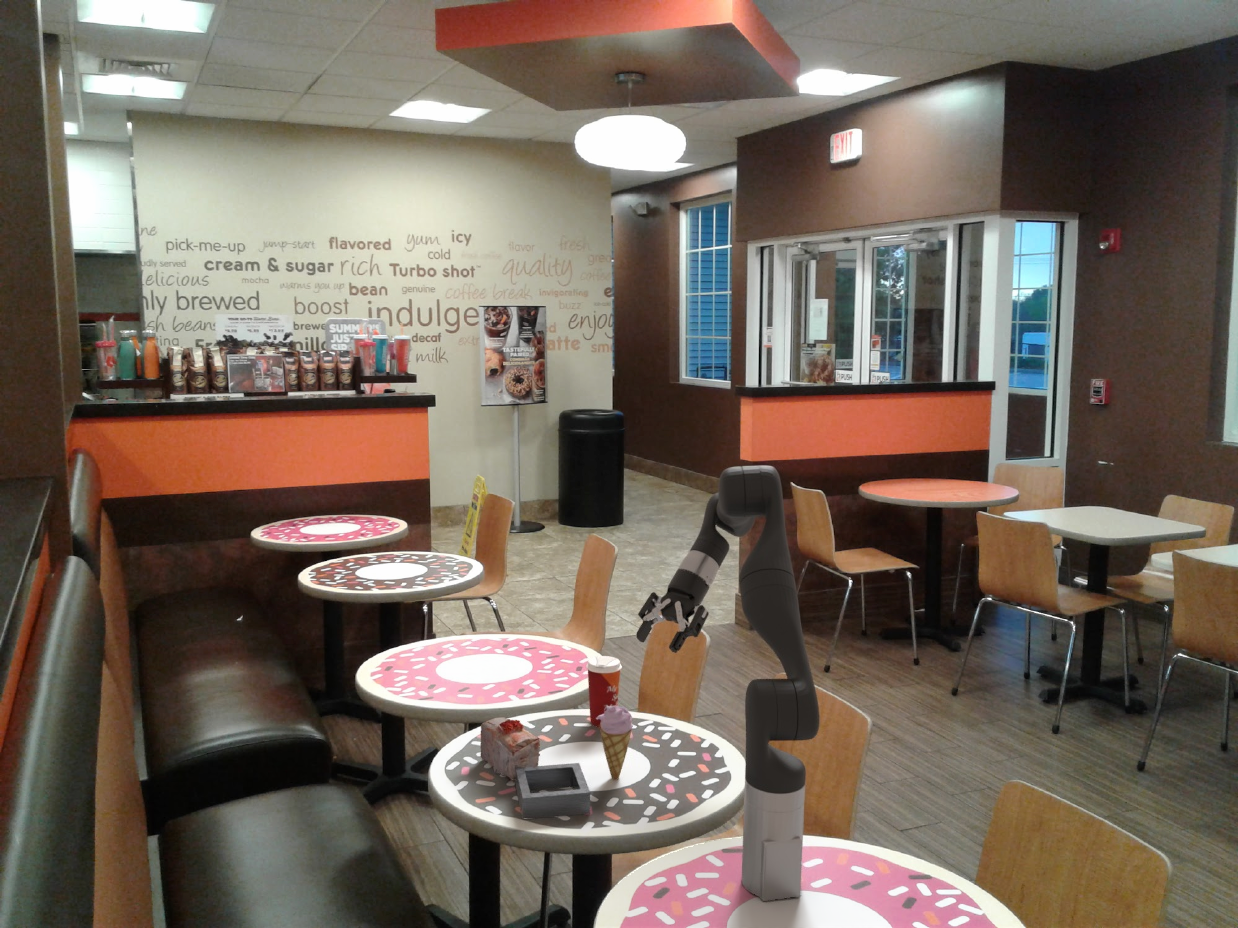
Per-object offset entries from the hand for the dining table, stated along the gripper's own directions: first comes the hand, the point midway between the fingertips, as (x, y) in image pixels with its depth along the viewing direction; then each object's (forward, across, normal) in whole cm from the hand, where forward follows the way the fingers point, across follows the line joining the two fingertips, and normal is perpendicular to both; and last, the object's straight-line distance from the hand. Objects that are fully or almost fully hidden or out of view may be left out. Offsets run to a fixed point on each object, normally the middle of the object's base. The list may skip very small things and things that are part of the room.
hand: (655, 645), depth 197 cm
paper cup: (+13, -19, +21) cm, 31 cm away
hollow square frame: (+35, -2, -2) cm, 35 cm away
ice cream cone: (+25, 0, +8) cm, 27 cm away
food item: (+33, -17, 0) cm, 37 cm away
